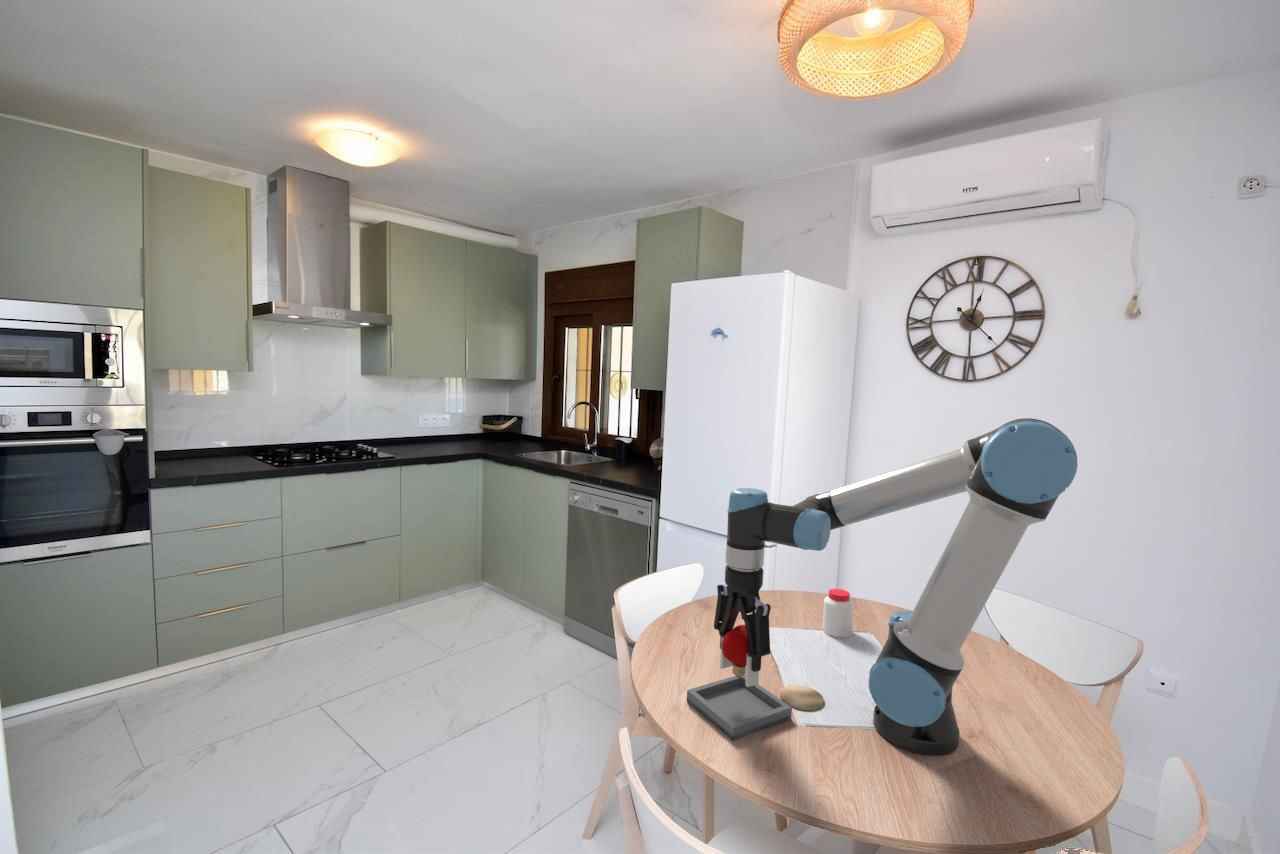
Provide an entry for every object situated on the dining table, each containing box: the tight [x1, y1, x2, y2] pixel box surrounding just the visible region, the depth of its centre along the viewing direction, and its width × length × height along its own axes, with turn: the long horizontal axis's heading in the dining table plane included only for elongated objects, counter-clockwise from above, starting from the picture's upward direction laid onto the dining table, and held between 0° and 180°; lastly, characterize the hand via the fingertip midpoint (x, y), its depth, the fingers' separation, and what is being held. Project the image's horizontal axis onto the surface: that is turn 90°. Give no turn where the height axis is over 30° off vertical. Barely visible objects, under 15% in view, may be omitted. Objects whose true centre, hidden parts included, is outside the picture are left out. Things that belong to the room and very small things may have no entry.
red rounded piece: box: [721, 624, 756, 678], centre depth 118 cm, size 9×7×10 cm
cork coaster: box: [779, 684, 825, 711], centre depth 124 cm, size 9×9×1 cm
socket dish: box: [686, 674, 793, 741], centre depth 119 cm, size 15×15×2 cm
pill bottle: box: [821, 588, 855, 639], centre depth 158 cm, size 8×8×11 cm
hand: (738, 675), depth 118 cm, fingers closed on red rounded piece, 7 cm apart
